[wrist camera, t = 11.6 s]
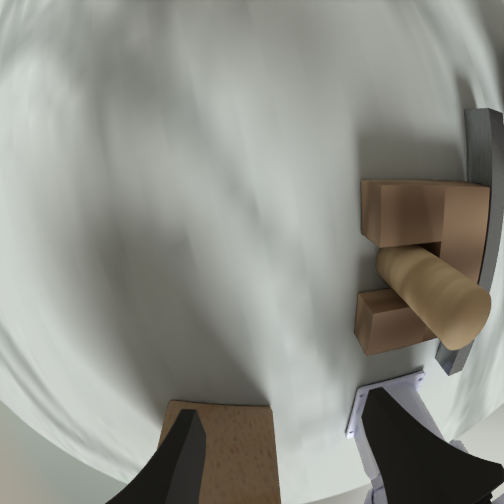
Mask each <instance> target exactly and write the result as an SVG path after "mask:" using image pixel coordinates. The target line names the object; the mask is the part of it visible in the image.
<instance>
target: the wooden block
mask: <svg viewBox="0 0 504 504" xmlns="http://www.w3.org/2000/svg"><path fill="white" fill-rule="evenodd" d="M181 409H196V410H197V413H198V415H199V418H200V420H201V423H202V425H203V428H204V430H205V433H206V456H205V463H204V469H203V476H202V482H201V488H200V494H199V504H281V497H280V486H279V476H278V465H277V454H276V444H275V433H274V423H273V412H272V410H271V408H270V407H268V406H232V405H215V404H203V403H193V402H184V401H176V400H172V401H170V402H169V404H168V407H167V411H166V415H165V419H164V423H163V427H162V431H161V435H160V439H159V443H158V447H157V449H158V448H159V446H160V445H161V443H162V442H163V440H164V438H165V437H166V435H167V434H168V432H169V430H170V429H171V427H172V425H173V423H174V421H175V420H176V418H177V416H178V414H179V412H180V410H181Z"/></svg>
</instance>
